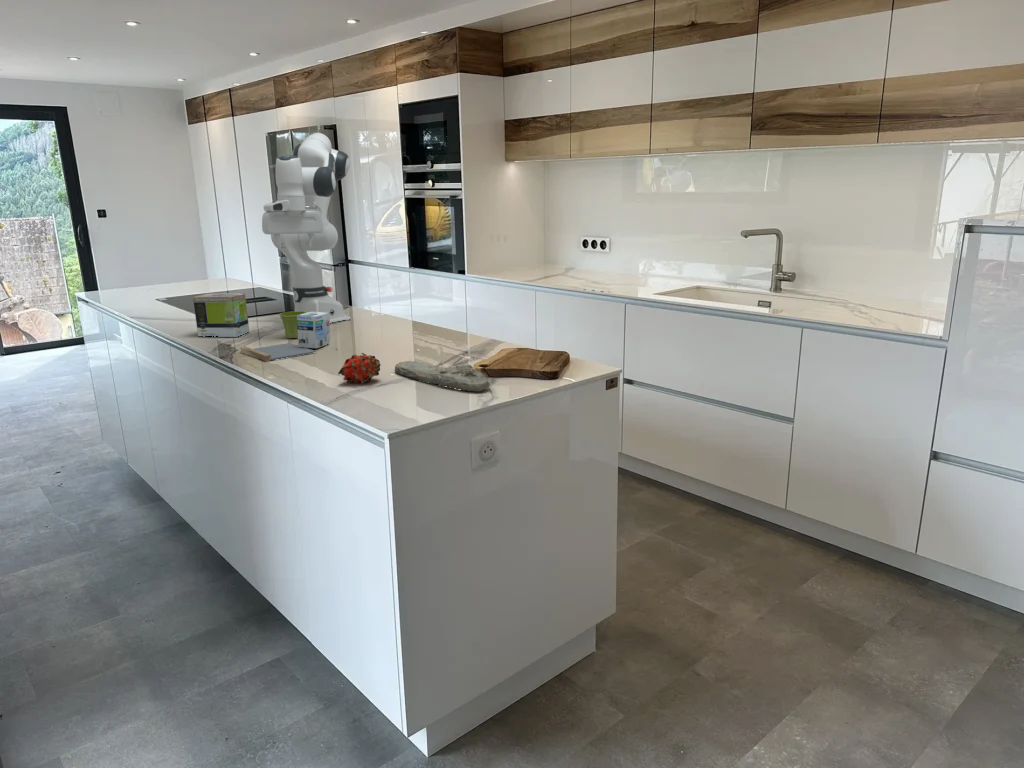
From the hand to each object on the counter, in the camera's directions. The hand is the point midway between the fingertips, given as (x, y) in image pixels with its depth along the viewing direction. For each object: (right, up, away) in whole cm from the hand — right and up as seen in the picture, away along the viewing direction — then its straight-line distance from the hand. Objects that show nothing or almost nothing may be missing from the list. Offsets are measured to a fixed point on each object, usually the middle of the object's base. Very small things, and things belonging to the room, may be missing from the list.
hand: (295, 247), depth 237 cm
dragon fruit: (+33, -46, -49) cm, 75 cm away
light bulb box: (+8, -34, -5) cm, 35 cm away
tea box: (-31, -29, +15) cm, 45 cm away
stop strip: (-7, -38, -19) cm, 43 cm away
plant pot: (-3, -30, +10) cm, 32 cm away
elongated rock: (+54, -46, -47) cm, 86 cm away
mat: (-1, -36, -13) cm, 39 cm away
